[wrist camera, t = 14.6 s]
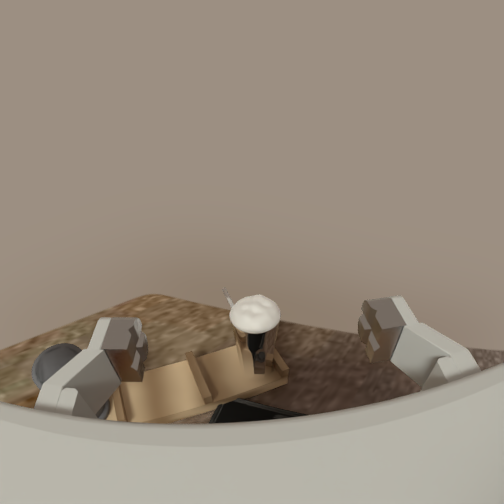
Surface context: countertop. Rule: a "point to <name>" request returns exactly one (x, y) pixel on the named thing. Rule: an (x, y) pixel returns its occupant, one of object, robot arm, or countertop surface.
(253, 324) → the milkshake
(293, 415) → the phone
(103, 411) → the spool
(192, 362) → the organizer
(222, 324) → the countertop surface
